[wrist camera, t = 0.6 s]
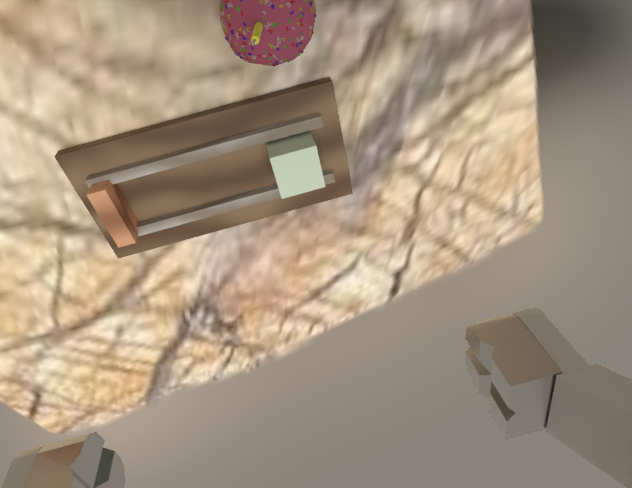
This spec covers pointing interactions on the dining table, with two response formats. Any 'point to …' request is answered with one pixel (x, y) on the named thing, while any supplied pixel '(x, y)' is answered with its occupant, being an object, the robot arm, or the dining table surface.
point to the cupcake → (267, 28)
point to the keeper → (296, 164)
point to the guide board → (204, 169)
